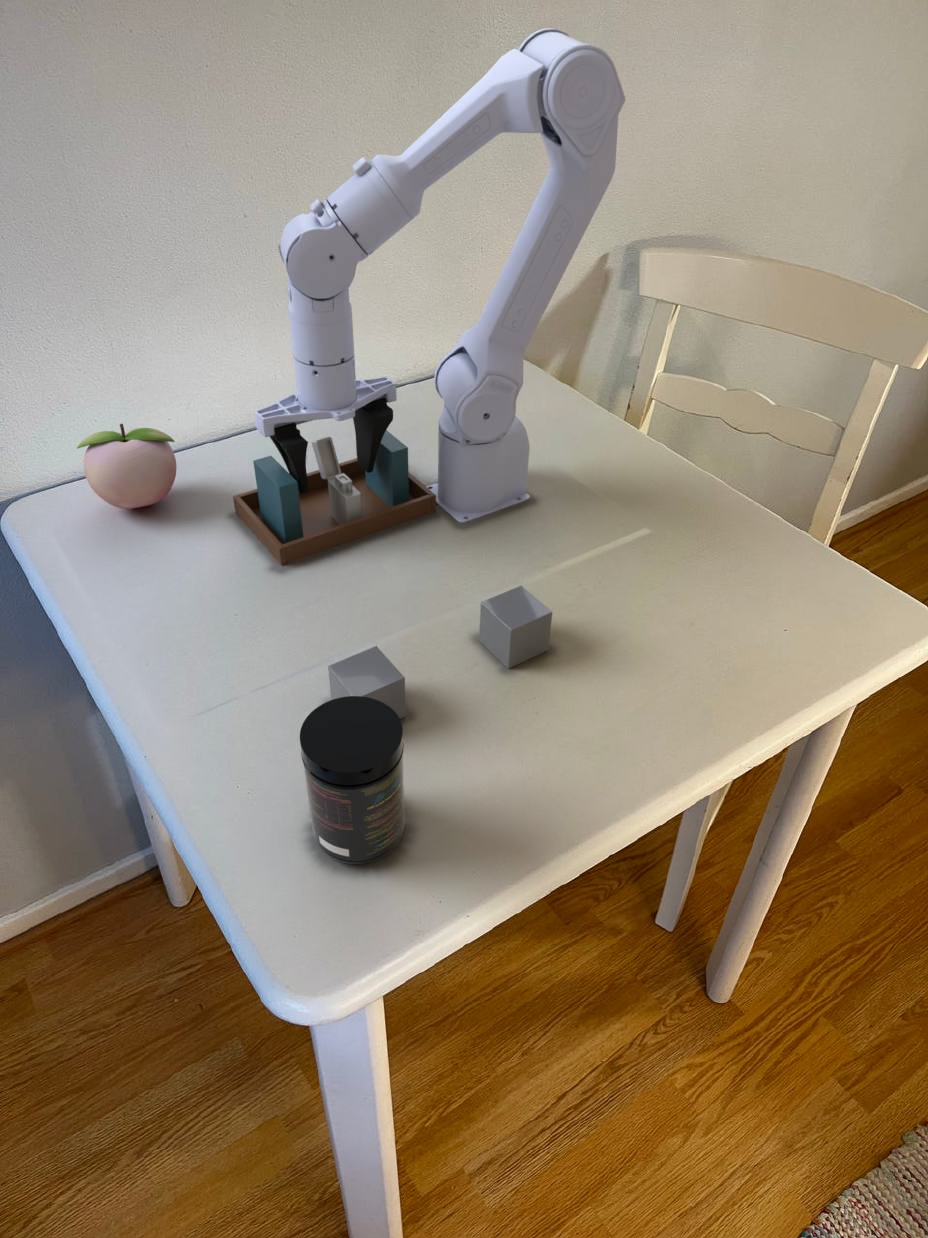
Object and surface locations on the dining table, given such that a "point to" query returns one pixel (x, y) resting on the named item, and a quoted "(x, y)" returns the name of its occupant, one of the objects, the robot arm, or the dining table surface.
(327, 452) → the lighter
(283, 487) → the slab
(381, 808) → the supplement container
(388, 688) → the grey cube
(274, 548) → the tray
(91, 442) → the decorative fruit
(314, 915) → the dining table surface
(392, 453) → the slab
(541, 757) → the dining table surface
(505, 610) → the grey cube
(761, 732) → the dining table surface
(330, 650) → the dining table surface
